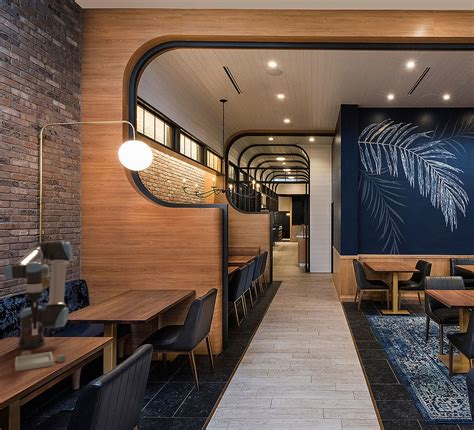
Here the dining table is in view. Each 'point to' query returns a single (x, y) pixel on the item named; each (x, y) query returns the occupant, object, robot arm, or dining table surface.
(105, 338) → the dining table surface
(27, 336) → the rock
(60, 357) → the squat grey cube
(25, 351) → the matte grey cube
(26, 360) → the dish
